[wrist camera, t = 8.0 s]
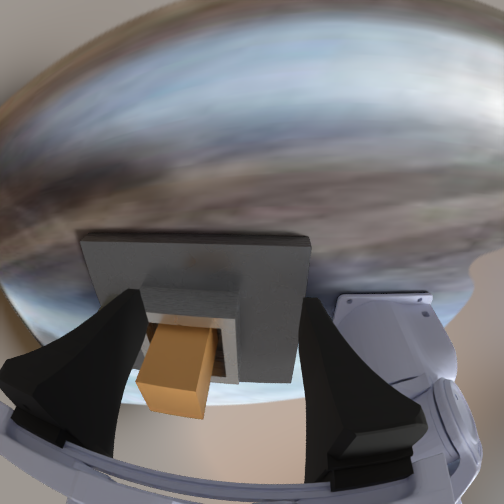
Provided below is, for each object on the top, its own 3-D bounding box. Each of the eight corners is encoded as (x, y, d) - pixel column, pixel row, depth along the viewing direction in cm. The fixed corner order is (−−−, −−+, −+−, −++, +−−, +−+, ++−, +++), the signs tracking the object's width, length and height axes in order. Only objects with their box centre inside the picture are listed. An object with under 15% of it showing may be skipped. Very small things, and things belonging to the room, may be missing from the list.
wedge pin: (215, 307, 22) (195, 391, 15) (218, 341, 24) (203, 419, 17) (167, 303, 23) (135, 381, 16) (174, 336, 25) (150, 410, 18)
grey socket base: (308, 236, 21) (317, 271, 17) (290, 372, 28) (291, 407, 25) (88, 233, 21) (59, 260, 18) (131, 358, 29) (119, 388, 25)
